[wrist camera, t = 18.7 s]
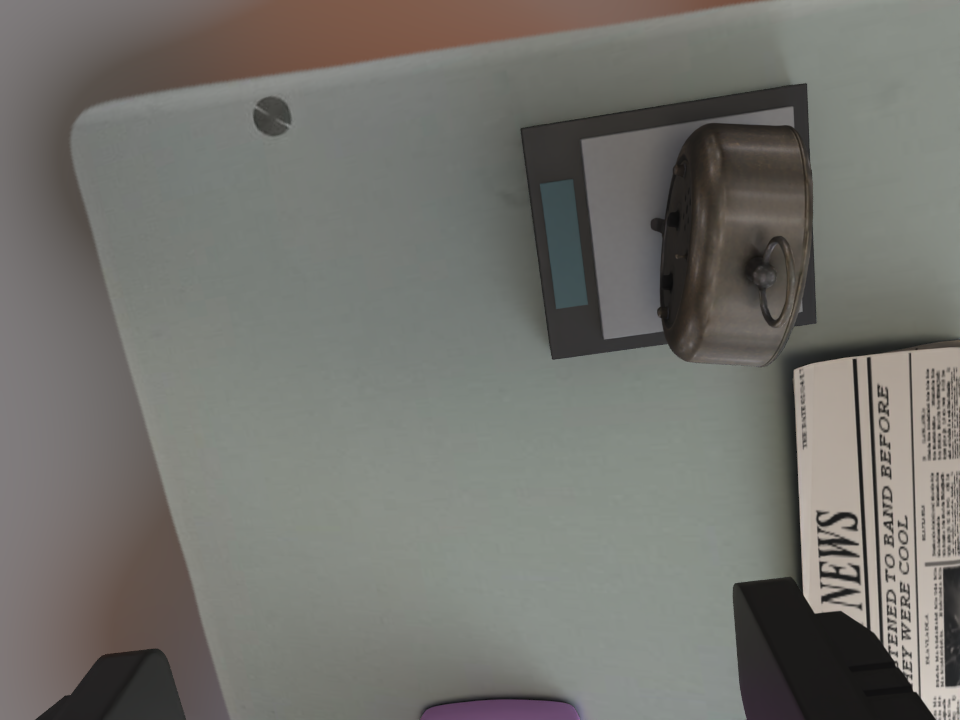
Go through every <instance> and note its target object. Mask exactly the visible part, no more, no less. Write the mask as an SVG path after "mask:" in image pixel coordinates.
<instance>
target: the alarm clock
mask: <svg viewBox="0 0 960 720" xmlns="http://www.w3.org/2000/svg"><path fill="white" fill-rule="evenodd" d="M812 222H813V181H812V170H811V164H810V161H809V155H808V152H807V149H806V146H805V144H804V141H803V139H802V137H801V136H800V134H799V133H798V132H797V131H796V130H795V129H794V128H793V127H792V126H789V125H782V126H772V125H749V124H728V123H708V124H705V125H703V126H701V127H699V128H698V129H696V130H695V131H694V132H693V133H692V134H691V135H690V136H689V137H688V139H687V140H686V141H685V143H684V145H683V146H682V148H681V151H680V153H679V155H678V158H677V161H676V164H675V166H674V167H673V175H672V179H671V184H670V189H669V195H668V200H667V206H666V213H665V220H664V219H661V218H654V219H652V220H651V229H652V230H654V231H657V232H660V233H662V250H661V265H660V307H659V308H658V309H657V315H658V317H660V318H661V321H662V327H663V331H664V335H665V338H666V341H667V343H668V345H669V347H670V348H671V350H672V351H673V352H674V353H675V354H676V355H677V356H678V357H679V358H681V359H682V360H684V361H687V362H694V363H708V364H725V365H741V366H756V367H765V366H768V365H769V364H771V363H772V362H773V361H774V360H775V359H776V358H777V357H778V356H779V354H780V353H781V352H782V350H783V349H784V347H785V345H786V343H787V341H788V339H789V336H790V334H791V331H792V329H793V327H794V324H795V322H796V319H797V316H798V313H799V310H800V306H801V301H802V298H803V293H804V288H805V283H806V277H807V271H808V264H809V257H810V249H811V239H812Z"/></svg>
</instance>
